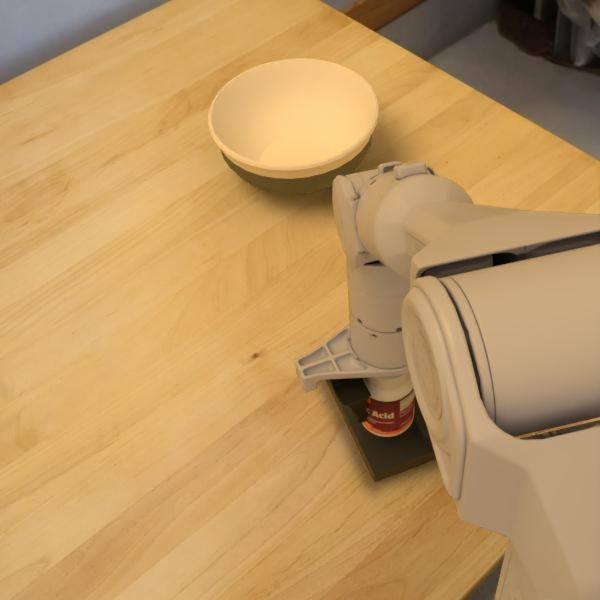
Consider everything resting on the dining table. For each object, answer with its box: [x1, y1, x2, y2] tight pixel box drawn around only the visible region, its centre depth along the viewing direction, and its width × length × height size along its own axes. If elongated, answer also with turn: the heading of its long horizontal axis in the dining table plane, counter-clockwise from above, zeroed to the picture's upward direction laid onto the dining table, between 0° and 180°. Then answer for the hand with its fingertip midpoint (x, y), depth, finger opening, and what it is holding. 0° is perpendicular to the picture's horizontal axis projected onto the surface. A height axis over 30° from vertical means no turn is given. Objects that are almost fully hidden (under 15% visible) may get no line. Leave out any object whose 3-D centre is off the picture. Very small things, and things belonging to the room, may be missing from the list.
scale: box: [325, 379, 436, 482], centre depth 76 cm, size 13×11×3 cm
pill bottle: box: [362, 372, 415, 437], centre depth 70 cm, size 5×5×8 cm
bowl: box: [207, 57, 381, 195], centre depth 95 cm, size 19×19×8 cm
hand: (387, 402), depth 72 cm, fingers closed on pill bottle, 5 cm apart
